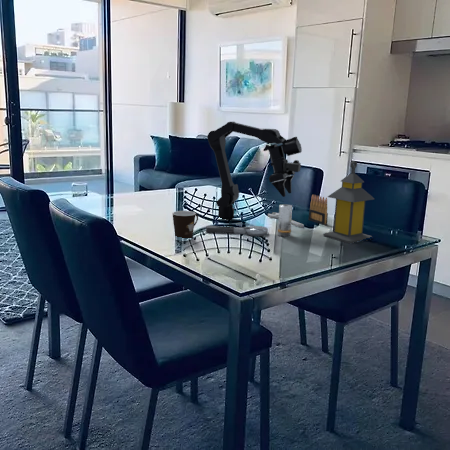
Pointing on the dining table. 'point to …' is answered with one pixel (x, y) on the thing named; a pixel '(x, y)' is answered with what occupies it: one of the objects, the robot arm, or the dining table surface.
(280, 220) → the socket
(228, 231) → the ratchet
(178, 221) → the coffee mug
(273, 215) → the adjustable wrench
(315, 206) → the ammunition clip
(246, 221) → the dining table surface
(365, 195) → the lantern
